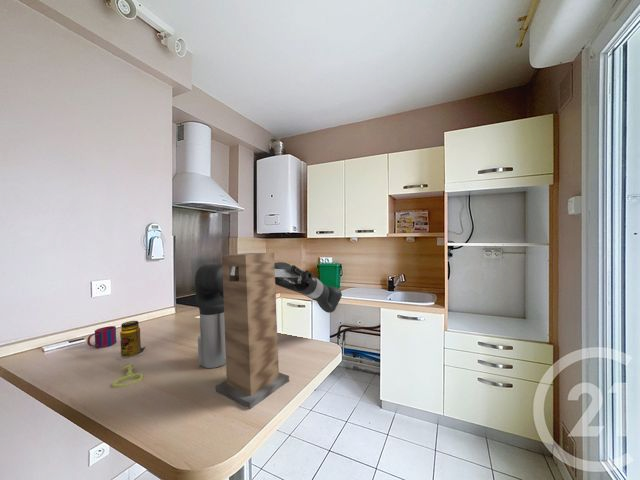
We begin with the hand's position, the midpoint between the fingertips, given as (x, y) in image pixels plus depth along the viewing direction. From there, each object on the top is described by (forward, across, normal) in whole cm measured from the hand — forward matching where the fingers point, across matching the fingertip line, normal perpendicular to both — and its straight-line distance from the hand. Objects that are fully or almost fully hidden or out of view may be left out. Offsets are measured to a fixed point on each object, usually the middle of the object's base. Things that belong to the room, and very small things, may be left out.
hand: (282, 267), depth 81 cm
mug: (+7, -78, +41) cm, 88 cm away
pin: (+5, +1, +5) cm, 7 cm away
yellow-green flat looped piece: (+10, -38, +43) cm, 58 cm away
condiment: (+4, -58, +39) cm, 70 cm away
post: (-4, 0, +34) cm, 34 cm away
